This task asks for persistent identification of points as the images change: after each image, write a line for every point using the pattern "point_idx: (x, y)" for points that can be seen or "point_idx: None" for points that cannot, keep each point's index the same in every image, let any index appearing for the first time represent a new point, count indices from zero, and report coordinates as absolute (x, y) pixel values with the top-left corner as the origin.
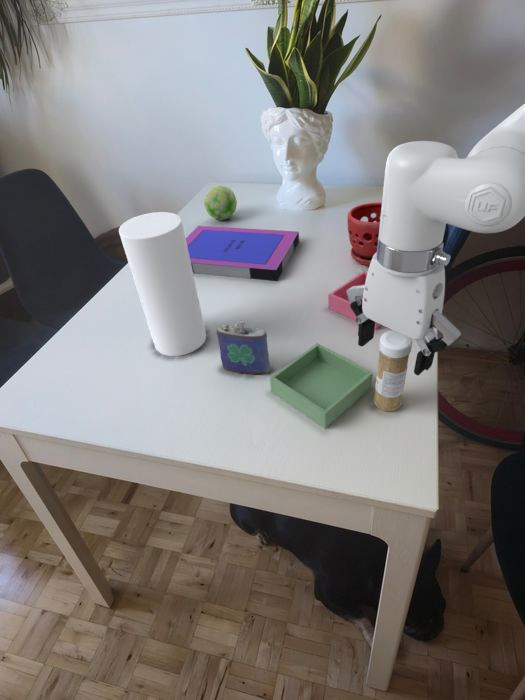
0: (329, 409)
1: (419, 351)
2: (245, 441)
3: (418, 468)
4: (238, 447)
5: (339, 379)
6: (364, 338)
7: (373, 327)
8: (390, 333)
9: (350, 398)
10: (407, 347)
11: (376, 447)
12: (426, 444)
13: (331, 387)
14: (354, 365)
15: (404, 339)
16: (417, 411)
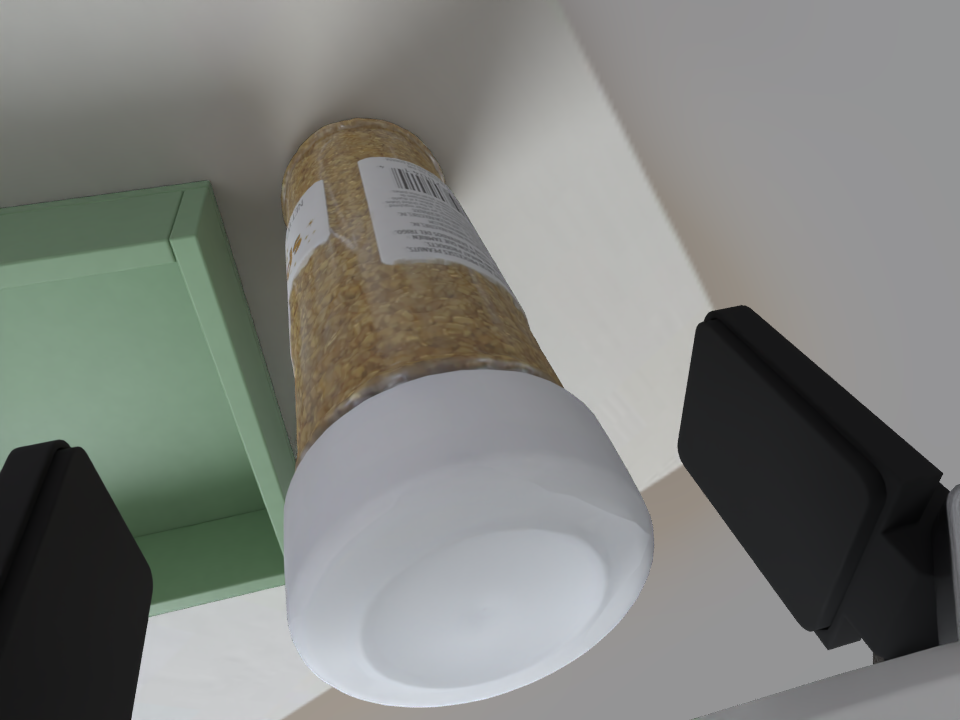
0: None
1: (821, 620)
2: (184, 696)
3: (677, 353)
4: (196, 712)
5: (34, 301)
6: (128, 638)
7: (40, 596)
8: (369, 617)
9: (264, 402)
10: (646, 578)
11: None
12: (654, 251)
13: (81, 372)
14: (38, 282)
15: (566, 561)
16: (522, 118)
